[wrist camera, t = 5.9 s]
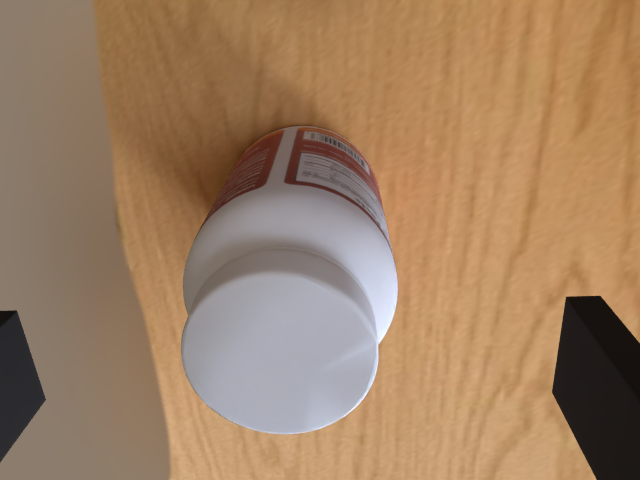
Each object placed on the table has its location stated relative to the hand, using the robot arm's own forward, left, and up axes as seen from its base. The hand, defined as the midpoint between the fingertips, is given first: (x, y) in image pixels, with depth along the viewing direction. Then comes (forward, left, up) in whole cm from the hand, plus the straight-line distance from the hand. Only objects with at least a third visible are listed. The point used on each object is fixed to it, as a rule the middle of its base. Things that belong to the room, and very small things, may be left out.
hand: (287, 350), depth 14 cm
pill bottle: (0, 0, -11) cm, 11 cm away
